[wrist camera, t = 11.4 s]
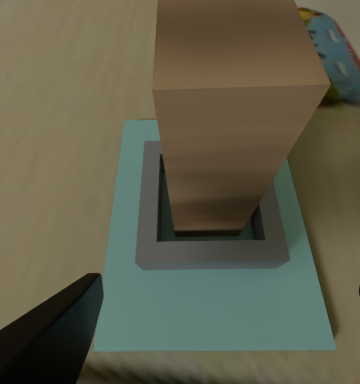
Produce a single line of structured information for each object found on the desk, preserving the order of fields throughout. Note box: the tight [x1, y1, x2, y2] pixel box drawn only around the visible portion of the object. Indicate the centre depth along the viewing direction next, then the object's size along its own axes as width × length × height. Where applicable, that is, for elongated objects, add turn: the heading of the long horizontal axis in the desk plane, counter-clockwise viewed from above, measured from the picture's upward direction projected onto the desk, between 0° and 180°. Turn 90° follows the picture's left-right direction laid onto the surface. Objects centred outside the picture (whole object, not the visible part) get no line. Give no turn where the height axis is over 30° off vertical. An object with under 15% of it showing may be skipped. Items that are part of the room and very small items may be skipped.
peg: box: [152, 0, 331, 237], centre depth 13 cm, size 4×4×12 cm
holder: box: [94, 120, 336, 351], centre depth 18 cm, size 18×14×4 cm
